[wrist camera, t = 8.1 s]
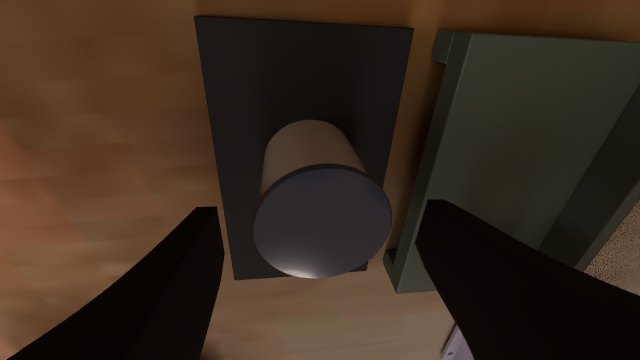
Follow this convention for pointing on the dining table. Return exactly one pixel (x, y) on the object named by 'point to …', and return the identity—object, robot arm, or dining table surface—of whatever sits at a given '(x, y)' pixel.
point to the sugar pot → (317, 203)
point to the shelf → (529, 144)
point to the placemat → (293, 103)
